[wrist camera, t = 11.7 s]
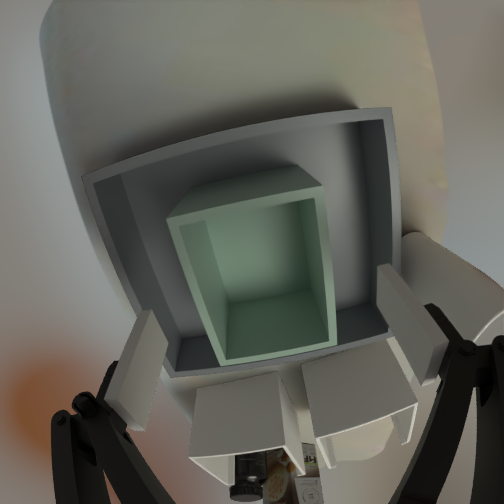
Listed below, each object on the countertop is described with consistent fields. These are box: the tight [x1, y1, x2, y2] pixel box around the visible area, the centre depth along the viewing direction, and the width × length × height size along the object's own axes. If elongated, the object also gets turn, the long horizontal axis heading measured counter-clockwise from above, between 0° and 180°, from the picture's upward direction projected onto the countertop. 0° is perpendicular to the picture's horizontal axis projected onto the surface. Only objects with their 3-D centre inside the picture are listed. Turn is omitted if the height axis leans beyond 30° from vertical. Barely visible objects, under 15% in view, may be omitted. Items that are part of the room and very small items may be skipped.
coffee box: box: [262, 443, 324, 504], centre depth 37 cm, size 9×6×16 cm
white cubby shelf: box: [188, 339, 418, 485], centre depth 31 cm, size 25×11×11 cm, turn 109°
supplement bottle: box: [229, 450, 268, 502], centre depth 36 cm, size 7×7×12 cm
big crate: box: [81, 107, 401, 378], centre depth 24 cm, size 20×22×6 cm
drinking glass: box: [400, 232, 504, 346], centre depth 21 cm, size 7×7×15 cm
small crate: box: [166, 165, 337, 366], centre depth 22 cm, size 12×9×8 cm
